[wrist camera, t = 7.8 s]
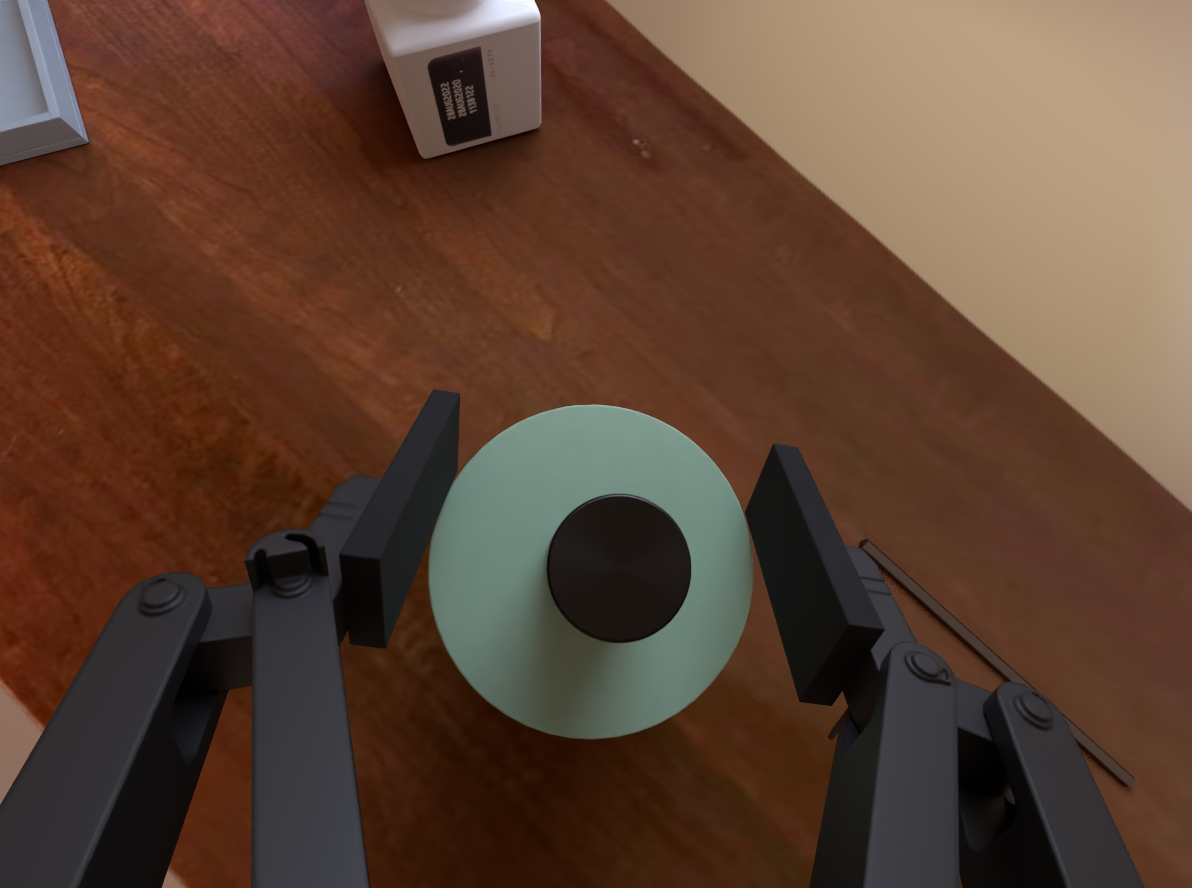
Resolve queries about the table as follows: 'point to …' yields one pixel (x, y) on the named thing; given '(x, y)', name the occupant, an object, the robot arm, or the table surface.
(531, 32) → the container
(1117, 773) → the rod
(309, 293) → the table surface
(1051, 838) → the robot arm
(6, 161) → the tray
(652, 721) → the lid
